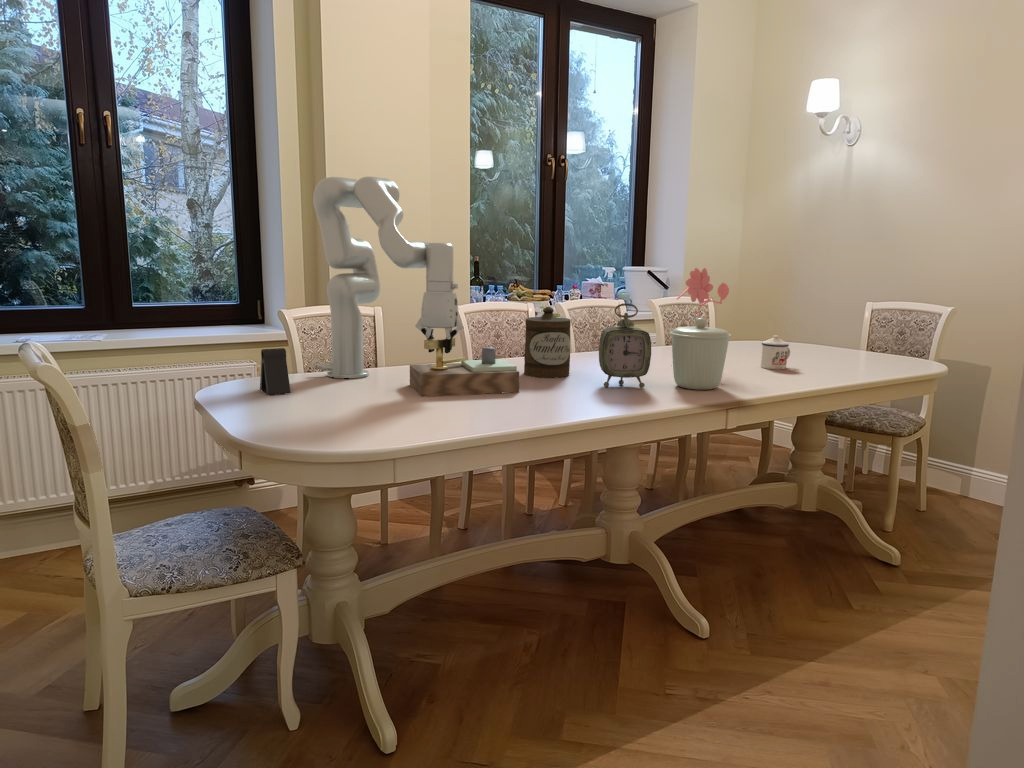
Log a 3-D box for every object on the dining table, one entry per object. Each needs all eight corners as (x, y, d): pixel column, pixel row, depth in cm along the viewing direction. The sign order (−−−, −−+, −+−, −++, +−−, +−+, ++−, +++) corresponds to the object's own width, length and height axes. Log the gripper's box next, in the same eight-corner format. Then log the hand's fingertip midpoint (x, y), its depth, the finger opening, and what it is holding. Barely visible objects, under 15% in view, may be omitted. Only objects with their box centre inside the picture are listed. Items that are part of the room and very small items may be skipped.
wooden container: (531, 378, 235) (532, 308, 231) (519, 370, 249) (520, 304, 245) (575, 377, 238) (578, 308, 234) (561, 370, 253) (563, 305, 249)
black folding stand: (259, 390, 208) (258, 347, 205) (281, 388, 211) (280, 346, 209) (268, 395, 200) (266, 351, 198) (290, 393, 203) (289, 350, 201)
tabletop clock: (600, 388, 220) (604, 304, 216) (596, 383, 229) (599, 301, 225) (649, 389, 221) (653, 305, 216) (642, 383, 230) (647, 302, 225)
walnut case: (421, 396, 203) (421, 375, 202) (409, 384, 220) (409, 364, 219) (518, 392, 212) (519, 371, 211) (500, 381, 228) (500, 362, 227)
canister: (654, 386, 226) (658, 316, 222) (687, 379, 239) (691, 314, 235) (707, 395, 213) (712, 322, 210) (738, 388, 226) (744, 318, 222)
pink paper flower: (684, 360, 280) (689, 266, 273) (735, 371, 257) (741, 269, 251) (652, 363, 273) (656, 266, 266) (701, 375, 250) (706, 269, 243)
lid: (472, 371, 209) (472, 351, 208) (461, 364, 221) (461, 345, 220) (516, 370, 213) (517, 350, 212) (503, 363, 225) (503, 344, 224)
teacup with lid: (773, 370, 261) (776, 337, 259) (754, 366, 269) (757, 334, 267) (798, 368, 266) (801, 336, 264) (778, 364, 274) (781, 333, 272)
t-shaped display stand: (433, 371, 207) (433, 341, 206) (420, 369, 210) (420, 339, 209) (469, 365, 219) (470, 337, 217) (457, 363, 222) (457, 335, 220)
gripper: (472, 287, 210) (471, 352, 213) (416, 285, 214) (416, 349, 217) (464, 289, 203) (463, 355, 206) (406, 287, 206) (406, 352, 210)
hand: (439, 351), depth 212 cm, fingers closed on t-shaped display stand, 4 cm apart
